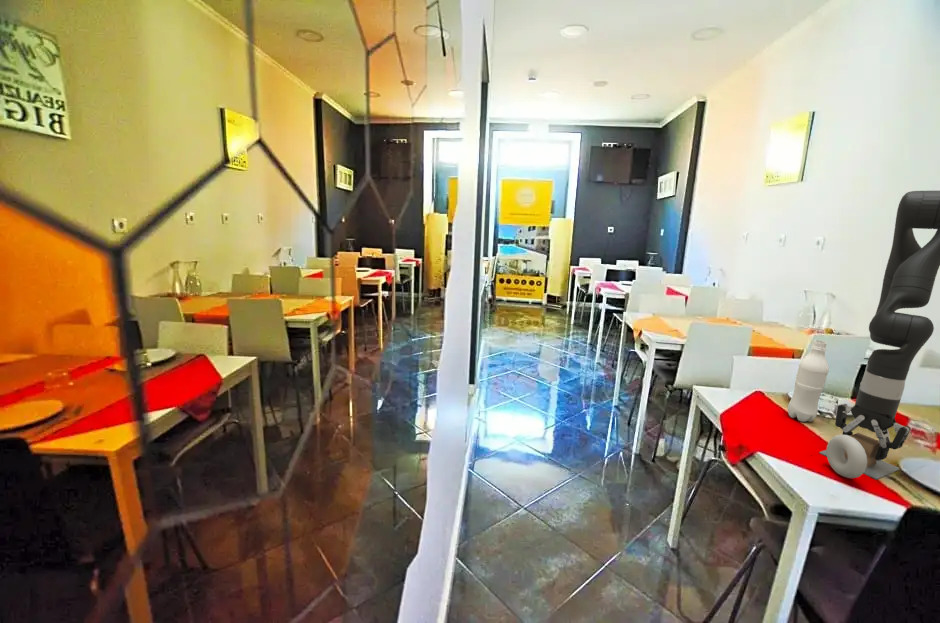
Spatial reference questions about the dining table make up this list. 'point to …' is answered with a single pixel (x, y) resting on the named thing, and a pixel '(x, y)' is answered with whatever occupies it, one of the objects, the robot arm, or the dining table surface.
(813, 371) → the water bottle
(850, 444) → the donut
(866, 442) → the walnut block
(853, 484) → the dining table surface
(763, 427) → the dining table surface
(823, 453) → the slate mat
